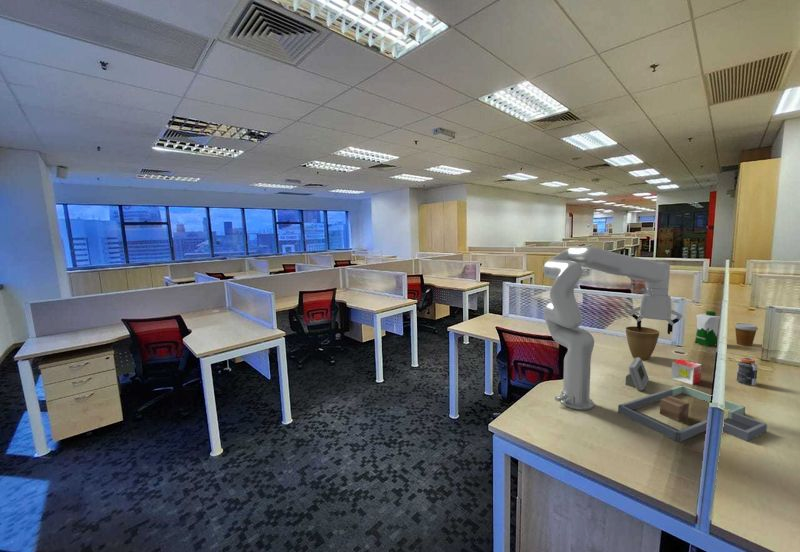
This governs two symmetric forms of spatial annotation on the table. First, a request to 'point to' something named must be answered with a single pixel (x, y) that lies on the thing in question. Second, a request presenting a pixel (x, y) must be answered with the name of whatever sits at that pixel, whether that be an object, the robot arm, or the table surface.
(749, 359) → the pill bottle
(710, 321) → the milk carton
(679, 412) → the walnut block
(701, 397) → the box
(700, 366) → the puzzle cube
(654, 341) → the plant pot
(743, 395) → the table surface
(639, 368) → the digital clock
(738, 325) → the disposable coffee cup
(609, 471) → the table surface
